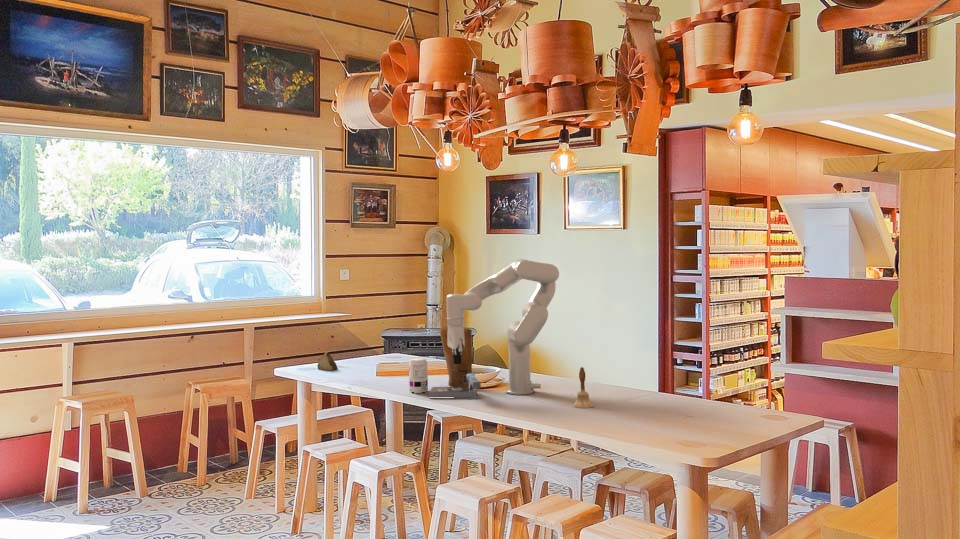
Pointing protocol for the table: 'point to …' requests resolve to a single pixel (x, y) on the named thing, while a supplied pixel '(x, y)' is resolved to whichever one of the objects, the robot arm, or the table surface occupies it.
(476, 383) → the bar
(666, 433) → the table surface
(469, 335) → the pancake mix bag
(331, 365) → the rock
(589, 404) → the hand bell
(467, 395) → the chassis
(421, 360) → the supplement can
